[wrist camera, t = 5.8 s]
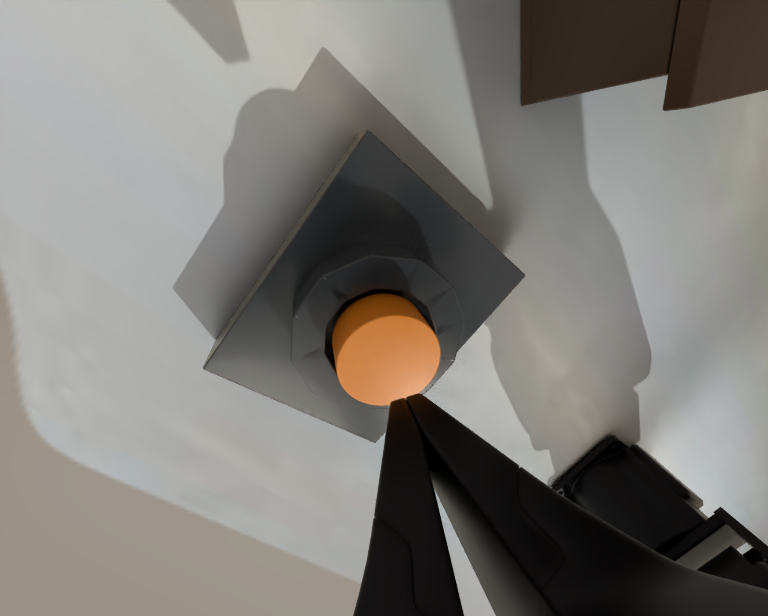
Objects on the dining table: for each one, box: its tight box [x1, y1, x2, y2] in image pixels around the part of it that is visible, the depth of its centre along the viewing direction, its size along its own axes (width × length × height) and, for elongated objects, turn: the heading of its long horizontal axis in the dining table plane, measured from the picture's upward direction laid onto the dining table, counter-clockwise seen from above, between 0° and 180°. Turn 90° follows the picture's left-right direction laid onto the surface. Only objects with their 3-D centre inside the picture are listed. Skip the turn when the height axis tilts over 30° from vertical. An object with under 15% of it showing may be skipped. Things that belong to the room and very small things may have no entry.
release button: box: [332, 293, 441, 406], centre depth 12 cm, size 4×4×2 cm
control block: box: [203, 130, 525, 443], centre depth 14 cm, size 11×9×4 cm
